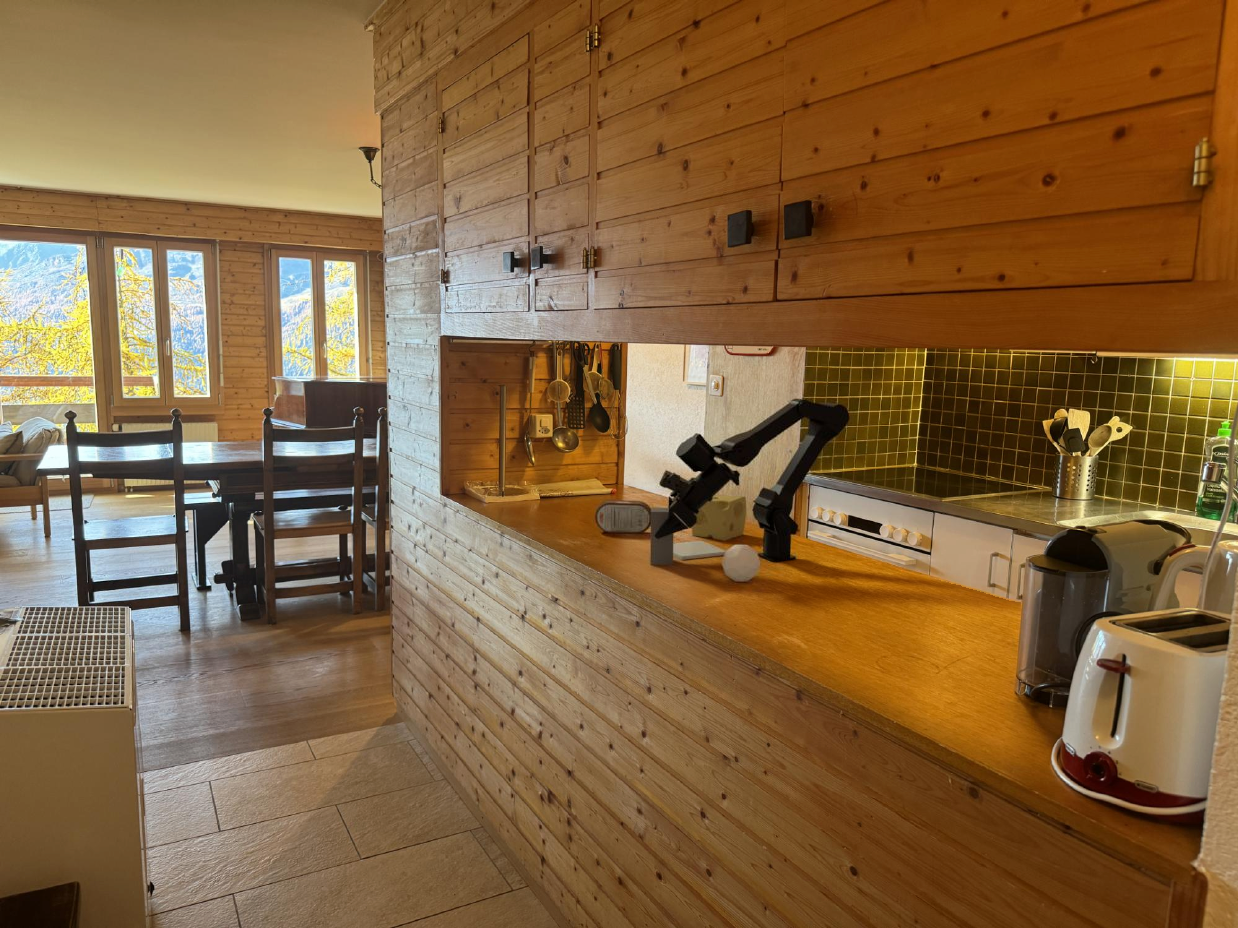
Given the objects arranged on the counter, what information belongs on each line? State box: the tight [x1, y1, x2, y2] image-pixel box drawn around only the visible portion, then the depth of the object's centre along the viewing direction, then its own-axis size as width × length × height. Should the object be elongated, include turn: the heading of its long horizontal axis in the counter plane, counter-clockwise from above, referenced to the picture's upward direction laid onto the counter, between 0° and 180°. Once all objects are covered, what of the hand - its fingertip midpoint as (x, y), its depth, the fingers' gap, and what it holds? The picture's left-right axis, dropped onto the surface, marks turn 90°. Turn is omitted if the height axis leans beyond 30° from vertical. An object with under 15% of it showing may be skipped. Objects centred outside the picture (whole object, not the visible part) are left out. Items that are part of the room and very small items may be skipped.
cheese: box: [691, 493, 747, 542], centre depth 222 cm, size 10×11×10 cm
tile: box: [673, 540, 726, 561], centre depth 205 cm, size 12×12×1 cm
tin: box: [594, 499, 651, 535], centre depth 225 cm, size 15×3×8 cm, turn 84°
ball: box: [721, 544, 761, 583], centre depth 180 cm, size 8×8×8 cm
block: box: [649, 506, 674, 566], centre depth 194 cm, size 5×5×12 cm
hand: (656, 532), depth 194 cm, fingers open, 9 cm apart
